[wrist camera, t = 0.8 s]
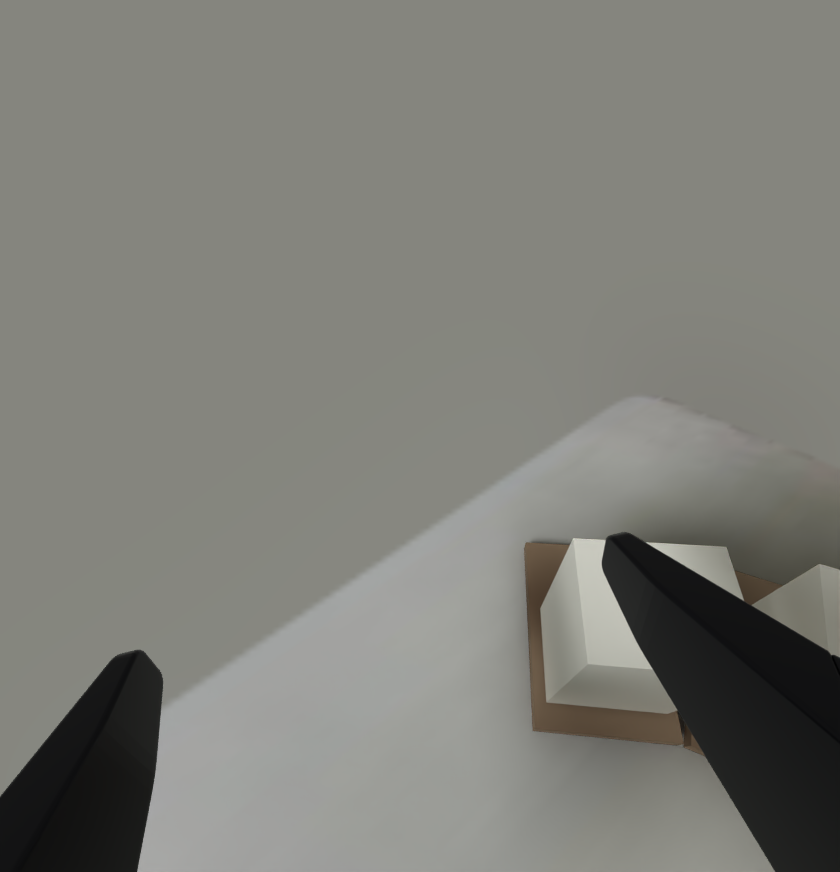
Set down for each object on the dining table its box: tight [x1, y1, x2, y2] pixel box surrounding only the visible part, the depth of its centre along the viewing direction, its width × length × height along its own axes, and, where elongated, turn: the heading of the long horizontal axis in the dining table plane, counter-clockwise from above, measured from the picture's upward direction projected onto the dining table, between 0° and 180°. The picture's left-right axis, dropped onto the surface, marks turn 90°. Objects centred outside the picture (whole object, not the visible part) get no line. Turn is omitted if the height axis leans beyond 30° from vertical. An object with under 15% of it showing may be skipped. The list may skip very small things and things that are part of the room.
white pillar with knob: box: [540, 538, 744, 714], centre depth 18 cm, size 4×5×8 cm
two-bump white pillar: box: [752, 564, 840, 657], centre depth 16 cm, size 4×5×8 cm
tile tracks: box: [524, 543, 783, 756], centre depth 20 cm, size 22×16×1 cm
